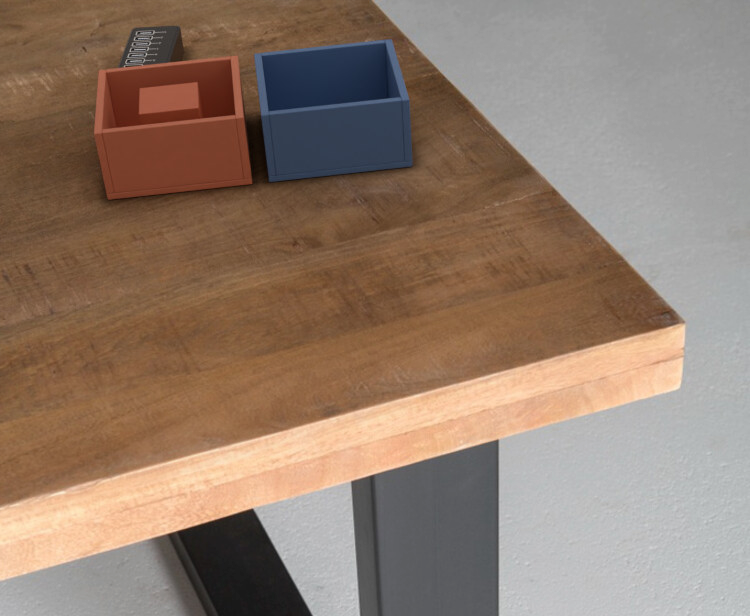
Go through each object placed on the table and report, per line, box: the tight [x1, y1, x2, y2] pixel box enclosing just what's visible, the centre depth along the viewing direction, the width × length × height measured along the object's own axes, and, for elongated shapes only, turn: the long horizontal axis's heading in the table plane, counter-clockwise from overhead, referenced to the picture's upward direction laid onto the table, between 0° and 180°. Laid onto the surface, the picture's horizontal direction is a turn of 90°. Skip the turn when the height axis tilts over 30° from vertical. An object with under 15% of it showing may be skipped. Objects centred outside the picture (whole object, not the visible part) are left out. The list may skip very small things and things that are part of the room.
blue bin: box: [253, 38, 414, 183], centre depth 112 cm, size 11×11×6 cm
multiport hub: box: [117, 25, 185, 68], centre depth 122 cm, size 4×14×2 cm, turn 178°
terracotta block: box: [139, 82, 203, 125], centre depth 111 cm, size 5×5×5 cm
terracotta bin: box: [93, 55, 253, 201], centre depth 111 cm, size 11×11×6 cm
